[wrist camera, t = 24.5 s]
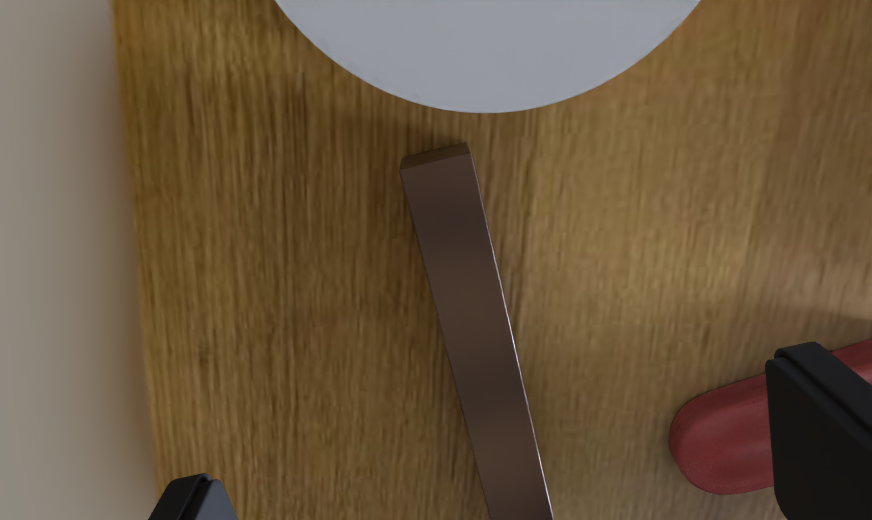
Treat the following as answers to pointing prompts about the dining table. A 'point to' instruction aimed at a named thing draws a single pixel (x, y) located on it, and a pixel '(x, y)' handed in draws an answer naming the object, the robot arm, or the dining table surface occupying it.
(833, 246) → the dining table surface
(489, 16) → the cup
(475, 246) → the stick
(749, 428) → the popsicle
